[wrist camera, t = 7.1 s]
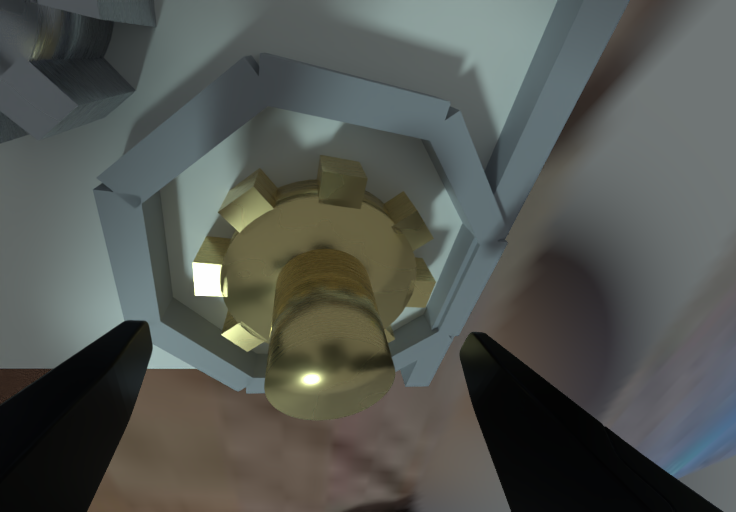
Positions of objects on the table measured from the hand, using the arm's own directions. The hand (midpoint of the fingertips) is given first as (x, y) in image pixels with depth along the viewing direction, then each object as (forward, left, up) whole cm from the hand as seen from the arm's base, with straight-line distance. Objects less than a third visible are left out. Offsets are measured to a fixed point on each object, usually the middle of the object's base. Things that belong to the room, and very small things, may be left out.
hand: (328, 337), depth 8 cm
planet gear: (0, 0, -4) cm, 4 cm away
